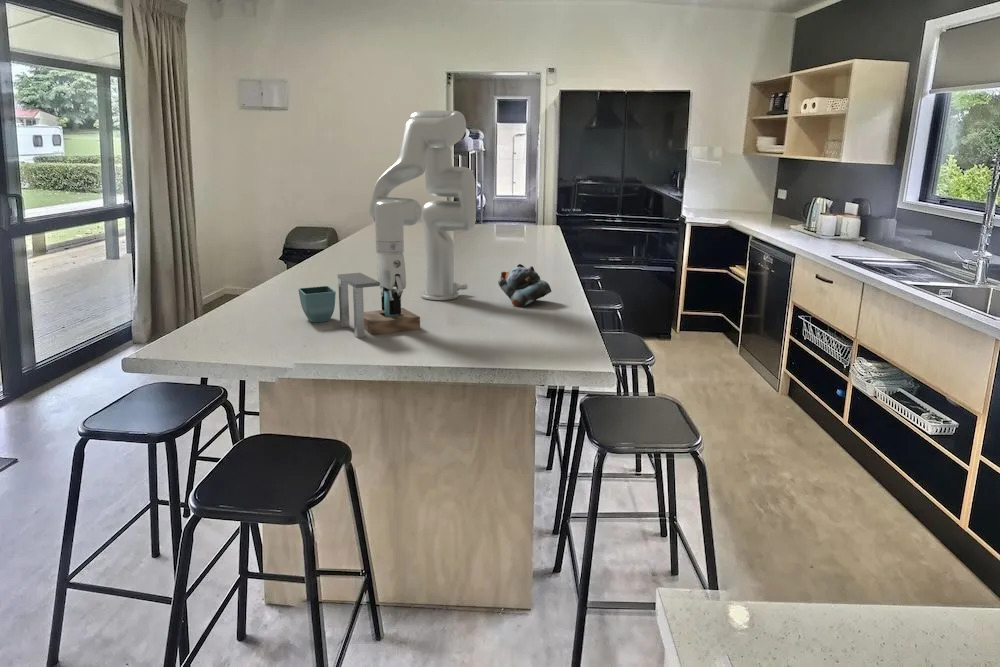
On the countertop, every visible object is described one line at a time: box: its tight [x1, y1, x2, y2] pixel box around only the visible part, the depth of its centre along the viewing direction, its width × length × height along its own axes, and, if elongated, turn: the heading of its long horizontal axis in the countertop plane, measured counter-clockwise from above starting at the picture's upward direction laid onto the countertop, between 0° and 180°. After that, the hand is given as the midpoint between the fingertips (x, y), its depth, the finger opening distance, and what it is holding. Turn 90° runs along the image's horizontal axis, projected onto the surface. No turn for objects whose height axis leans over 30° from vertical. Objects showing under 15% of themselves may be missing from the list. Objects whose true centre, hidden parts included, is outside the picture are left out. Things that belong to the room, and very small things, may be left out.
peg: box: [384, 290, 398, 318], centre depth 199 cm, size 4×4×10 cm
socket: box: [364, 307, 421, 336], centre depth 199 cm, size 14×12×4 cm
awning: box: [337, 272, 380, 339], centre depth 193 cm, size 6×15×14 cm, turn 31°
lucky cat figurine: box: [497, 263, 553, 308], centre depth 231 cm, size 15×12×14 cm
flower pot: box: [297, 285, 336, 324], centre depth 204 cm, size 9×9×9 cm
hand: (391, 311), depth 199 cm, fingers open, 5 cm apart
